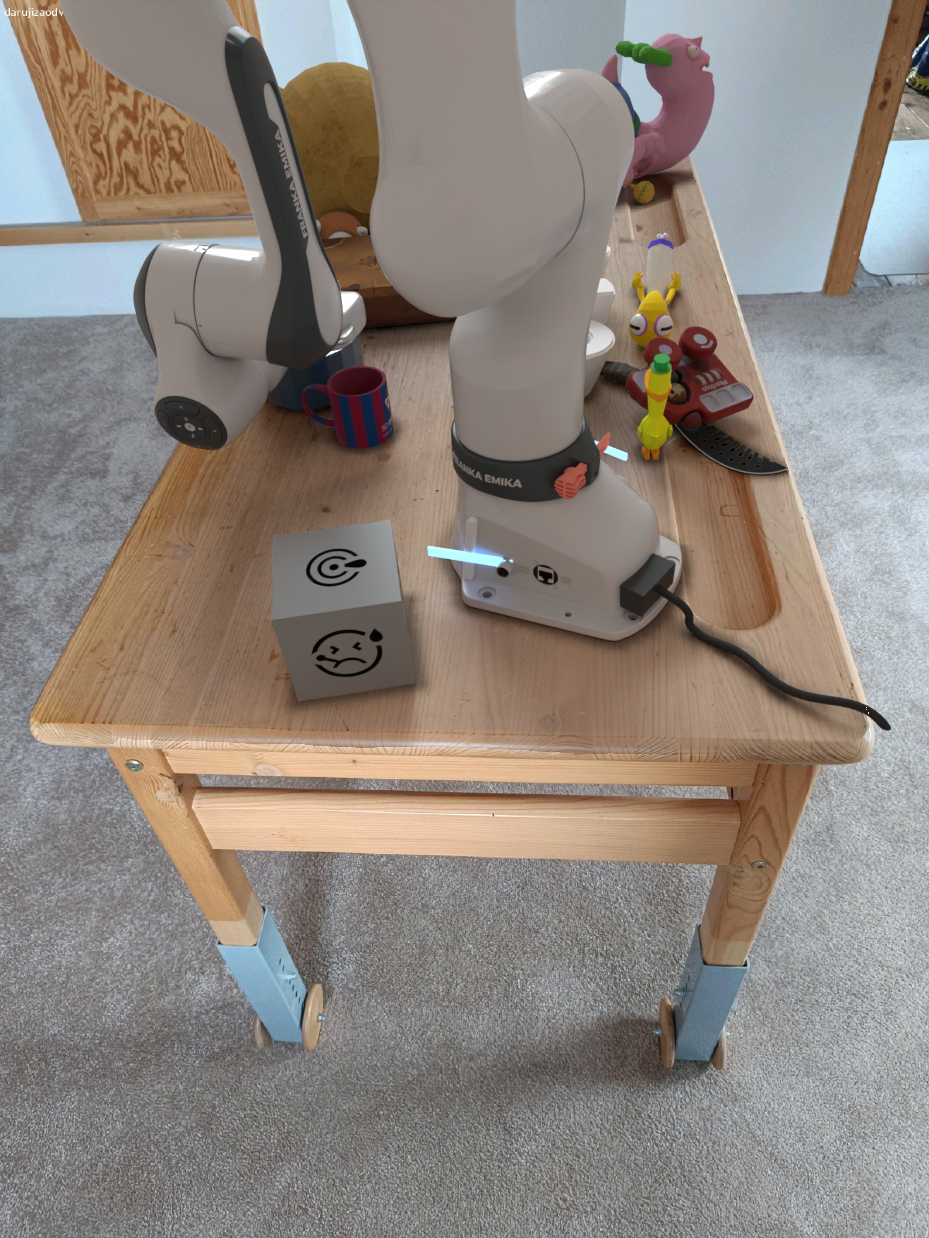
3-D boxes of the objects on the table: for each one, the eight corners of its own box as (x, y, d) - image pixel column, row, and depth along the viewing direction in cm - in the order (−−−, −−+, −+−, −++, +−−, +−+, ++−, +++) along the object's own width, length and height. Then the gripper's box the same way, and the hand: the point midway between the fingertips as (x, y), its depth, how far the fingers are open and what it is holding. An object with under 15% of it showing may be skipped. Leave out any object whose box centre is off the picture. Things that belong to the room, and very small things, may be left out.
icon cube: (404, 602, 79) (390, 519, 72) (415, 683, 72) (401, 600, 65) (297, 618, 78) (273, 536, 71) (298, 701, 71) (270, 620, 64)
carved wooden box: (314, 337, 116) (305, 296, 112) (319, 278, 129) (311, 240, 125) (480, 320, 116) (478, 278, 112) (468, 263, 129) (466, 224, 125)
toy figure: (631, 436, 95) (639, 337, 86) (663, 435, 94) (675, 335, 86) (637, 472, 90) (647, 371, 81) (671, 471, 90) (684, 369, 81)
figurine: (300, 254, 121) (378, 243, 125) (281, 203, 123) (359, 194, 127) (296, 296, 129) (369, 285, 133) (279, 247, 131) (352, 238, 135)
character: (686, 227, 113) (683, 276, 99) (678, 302, 120) (673, 358, 105) (639, 226, 115) (628, 274, 100) (633, 300, 121) (622, 356, 106)
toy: (543, -3, 139) (701, 38, 148) (510, 159, 152) (656, 187, 162) (596, 5, 120) (772, 51, 129) (553, 189, 134) (714, 219, 143)
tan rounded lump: (353, 54, 113) (291, -3, 131) (259, 209, 122) (213, 135, 140) (472, 161, 130) (402, 97, 147) (381, 290, 139) (326, 215, 157)
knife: (753, 494, 88) (788, 474, 89) (756, 481, 86) (791, 461, 88) (583, 378, 104) (615, 363, 105) (583, 366, 103) (615, 350, 104)
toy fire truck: (627, 345, 90) (685, 412, 87) (712, 317, 95) (771, 380, 91) (607, 392, 96) (661, 457, 93) (689, 364, 101) (743, 424, 97)
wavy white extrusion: (502, 284, 123) (500, 209, 115) (617, 284, 121) (622, 207, 113) (468, 418, 99) (462, 334, 92) (610, 421, 97) (615, 335, 89)
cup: (385, 451, 96) (376, 398, 91) (302, 445, 98) (290, 393, 93) (400, 418, 100) (392, 366, 96) (321, 414, 102) (309, 363, 97)
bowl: (388, 373, 108) (380, 321, 103) (320, 425, 101) (308, 372, 96) (309, 350, 114) (298, 300, 109) (240, 397, 106) (225, 346, 101)
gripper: (340, 318, 85) (377, 259, 94) (156, 312, 89) (209, 256, 98) (350, 374, 90) (385, 313, 99) (175, 366, 94) (224, 308, 103)
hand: (296, 285), depth 99 cm, fingers open, 8 cm apart
